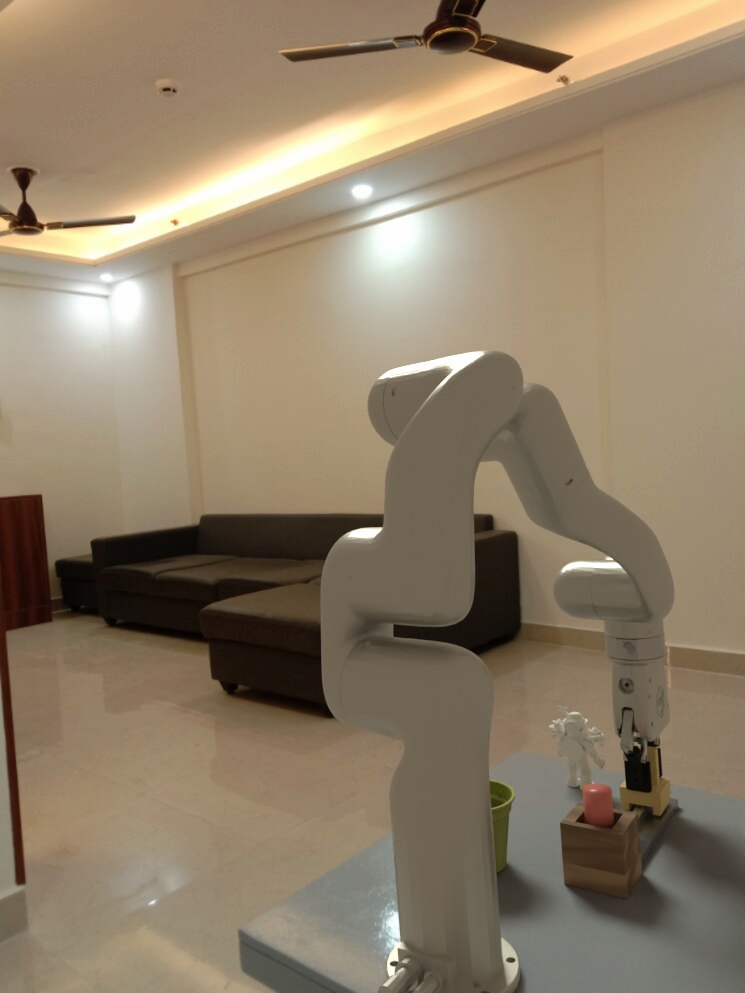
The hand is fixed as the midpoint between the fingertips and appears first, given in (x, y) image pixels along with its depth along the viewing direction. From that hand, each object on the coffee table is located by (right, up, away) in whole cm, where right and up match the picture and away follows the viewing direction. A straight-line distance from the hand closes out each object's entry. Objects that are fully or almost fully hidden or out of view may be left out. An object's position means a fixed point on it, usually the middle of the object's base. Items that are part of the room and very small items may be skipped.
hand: (644, 781), depth 105 cm
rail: (-3, -5, -4) cm, 7 cm away
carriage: (0, -3, 0) cm, 3 cm away
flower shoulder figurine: (-6, -5, +11) cm, 13 cm away
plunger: (-10, 0, -15) cm, 18 cm away
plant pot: (-23, -7, -9) cm, 26 cm away
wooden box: (-10, -6, -15) cm, 19 cm away
